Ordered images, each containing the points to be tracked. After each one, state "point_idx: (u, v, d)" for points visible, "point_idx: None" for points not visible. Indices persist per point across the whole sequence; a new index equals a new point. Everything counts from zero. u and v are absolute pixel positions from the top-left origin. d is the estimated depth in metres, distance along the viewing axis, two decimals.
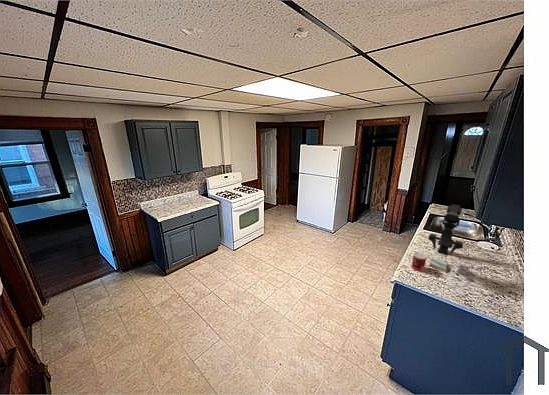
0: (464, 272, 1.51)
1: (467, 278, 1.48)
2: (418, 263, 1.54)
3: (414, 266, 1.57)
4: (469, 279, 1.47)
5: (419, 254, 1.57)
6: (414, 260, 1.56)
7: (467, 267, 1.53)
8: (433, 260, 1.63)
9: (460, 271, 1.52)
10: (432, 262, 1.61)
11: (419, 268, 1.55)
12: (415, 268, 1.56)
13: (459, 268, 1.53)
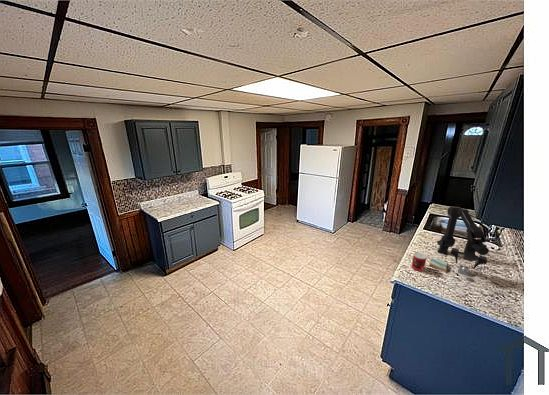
0: (464, 272, 1.51)
1: (467, 278, 1.48)
2: (418, 263, 1.54)
3: (414, 266, 1.57)
4: (469, 279, 1.47)
5: (419, 254, 1.57)
6: (414, 260, 1.56)
7: (467, 267, 1.54)
8: (433, 260, 1.63)
9: (460, 271, 1.52)
10: (432, 262, 1.61)
11: (419, 268, 1.55)
12: (415, 268, 1.56)
13: (459, 268, 1.53)
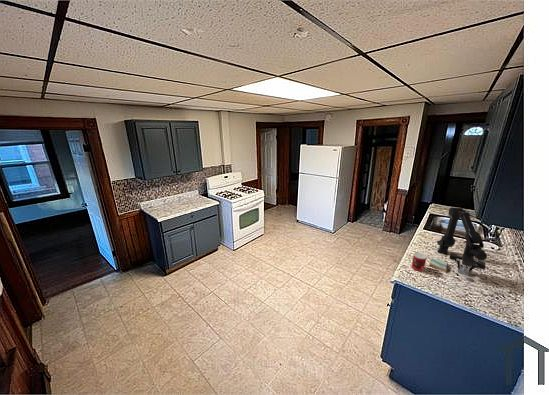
0: (464, 272, 1.51)
1: (467, 278, 1.48)
2: (418, 263, 1.54)
3: (414, 266, 1.57)
4: (469, 279, 1.47)
5: (419, 254, 1.57)
6: (414, 260, 1.56)
7: (467, 267, 1.54)
8: (433, 260, 1.63)
9: (460, 271, 1.52)
10: (432, 262, 1.61)
11: (419, 268, 1.55)
12: (415, 268, 1.56)
13: (459, 268, 1.53)
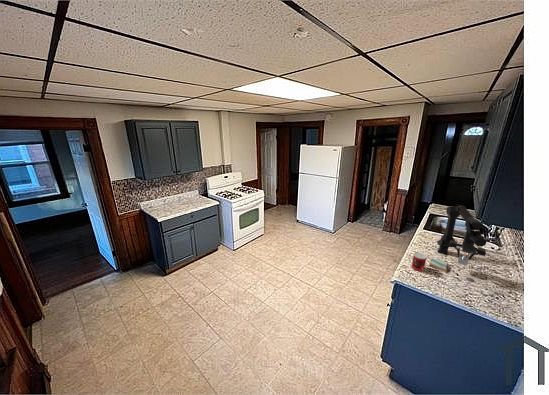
0: (464, 261, 1.49)
1: (467, 278, 1.48)
2: (418, 263, 1.54)
3: (414, 266, 1.57)
4: (469, 279, 1.47)
5: (419, 254, 1.57)
6: (414, 260, 1.56)
7: (467, 256, 1.52)
8: (433, 260, 1.63)
9: (460, 260, 1.51)
10: (432, 262, 1.61)
11: (419, 268, 1.55)
12: (415, 268, 1.56)
13: (458, 257, 1.52)
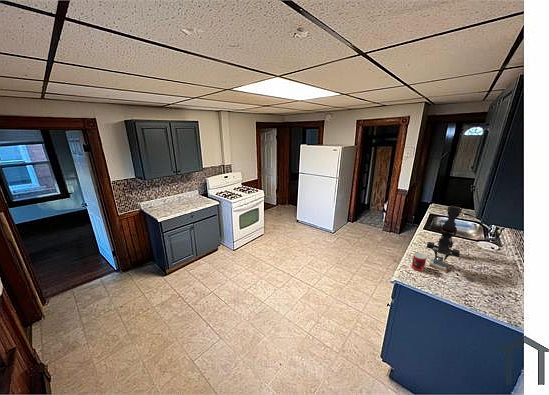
0: (438, 262, 1.57)
1: (467, 278, 1.48)
2: (418, 263, 1.54)
3: (414, 266, 1.57)
4: (469, 279, 1.47)
5: (419, 254, 1.57)
6: (414, 260, 1.56)
7: (441, 257, 1.60)
8: (433, 260, 1.63)
9: (435, 261, 1.59)
10: (432, 262, 1.61)
11: (419, 268, 1.55)
12: (415, 268, 1.56)
13: (434, 258, 1.60)
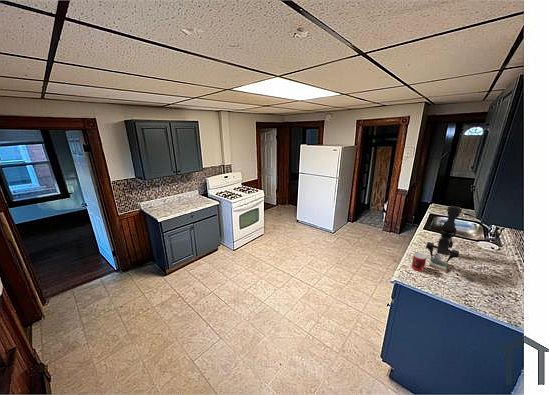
0: (435, 259, 1.58)
1: (467, 278, 1.48)
2: (418, 263, 1.54)
3: (414, 266, 1.57)
4: (469, 279, 1.47)
5: (419, 254, 1.57)
6: (414, 260, 1.56)
7: (436, 254, 1.62)
8: None
9: (432, 260, 1.60)
10: None
11: (419, 268, 1.55)
12: (415, 268, 1.56)
13: (430, 258, 1.61)
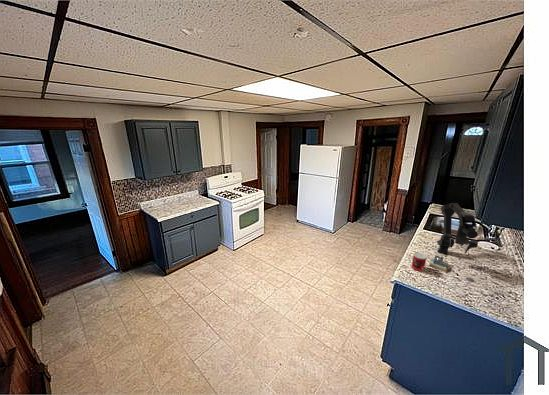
0: (438, 262, 1.57)
1: (467, 278, 1.48)
2: (418, 263, 1.54)
3: (414, 266, 1.57)
4: (469, 279, 1.47)
5: (419, 254, 1.57)
6: (414, 260, 1.56)
7: (441, 257, 1.60)
8: (433, 260, 1.63)
9: (435, 261, 1.59)
10: (432, 262, 1.61)
11: (419, 268, 1.55)
12: (415, 268, 1.56)
13: (434, 258, 1.60)
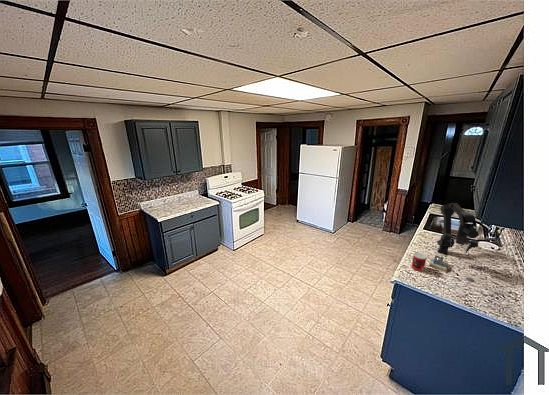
0: (438, 262, 1.57)
1: (467, 278, 1.48)
2: (418, 263, 1.54)
3: (414, 266, 1.57)
4: (469, 279, 1.47)
5: (419, 254, 1.57)
6: (414, 260, 1.56)
7: (441, 257, 1.60)
8: (433, 260, 1.63)
9: (435, 261, 1.59)
10: (432, 262, 1.61)
11: (419, 268, 1.55)
12: (415, 268, 1.56)
13: (434, 258, 1.60)
